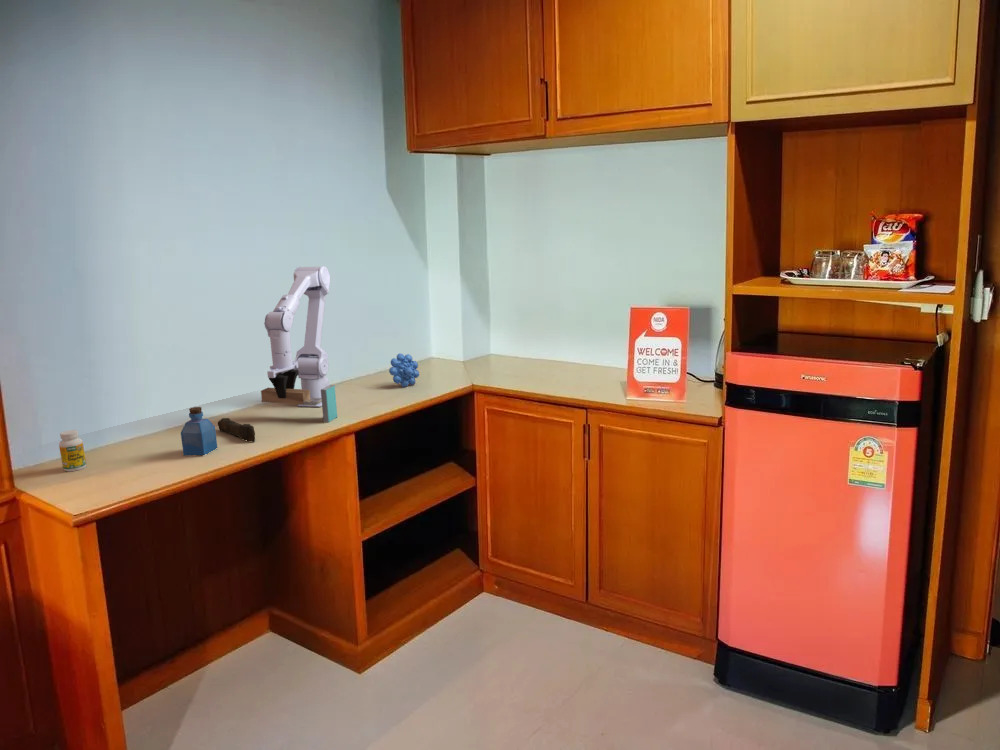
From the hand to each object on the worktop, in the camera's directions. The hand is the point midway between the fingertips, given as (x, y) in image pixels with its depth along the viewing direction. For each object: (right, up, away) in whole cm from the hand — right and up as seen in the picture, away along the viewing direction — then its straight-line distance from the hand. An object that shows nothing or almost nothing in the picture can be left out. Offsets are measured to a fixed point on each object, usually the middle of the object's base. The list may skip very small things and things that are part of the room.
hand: (285, 396), depth 247 cm
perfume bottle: (-15, -14, -29) cm, 35 cm away
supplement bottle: (-44, -18, -38) cm, 61 cm away
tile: (+14, -7, -2) cm, 16 cm away
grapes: (+32, +2, +35) cm, 48 cm away
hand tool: (-9, -11, -15) cm, 20 cm away
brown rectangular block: (+2, -2, 0) cm, 3 cm away
